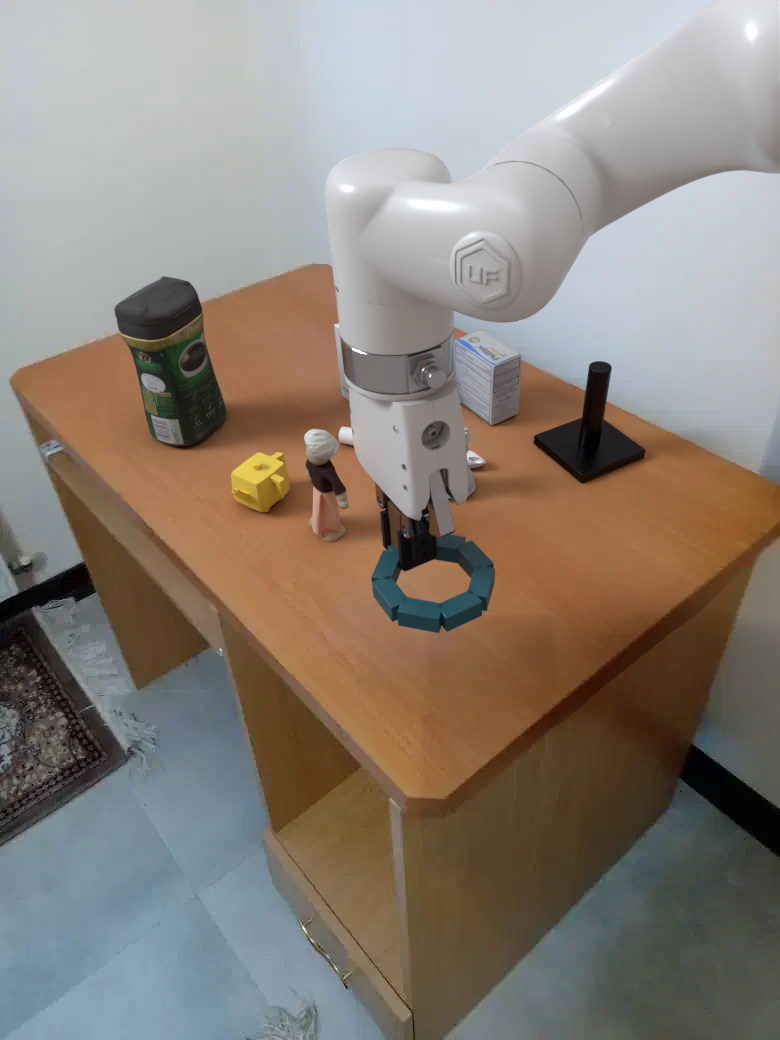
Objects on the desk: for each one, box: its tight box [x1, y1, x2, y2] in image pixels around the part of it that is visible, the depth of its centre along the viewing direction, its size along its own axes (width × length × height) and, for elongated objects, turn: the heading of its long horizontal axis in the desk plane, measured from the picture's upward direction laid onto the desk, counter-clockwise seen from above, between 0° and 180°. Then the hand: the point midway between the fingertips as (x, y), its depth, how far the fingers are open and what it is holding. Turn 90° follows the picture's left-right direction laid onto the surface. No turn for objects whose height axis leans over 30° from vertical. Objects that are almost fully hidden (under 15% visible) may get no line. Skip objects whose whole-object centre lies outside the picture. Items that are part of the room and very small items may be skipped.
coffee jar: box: [113, 275, 227, 447], centre depth 94 cm, size 10×8×19 cm
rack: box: [533, 360, 646, 484], centre depth 89 cm, size 9×9×11 cm
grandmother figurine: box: [303, 428, 350, 543], centre depth 80 cm, size 8×4×13 cm, turn 45°
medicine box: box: [454, 329, 522, 426], centre depth 97 cm, size 8×4×9 cm, turn 32°
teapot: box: [230, 451, 291, 513], centre depth 86 cm, size 8×6×5 cm
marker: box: [337, 426, 487, 469], centre depth 92 cm, size 18×2×2 cm, turn 68°
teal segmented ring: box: [370, 500, 496, 634], centre depth 61 cm, size 9×9×6 cm
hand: (409, 551), depth 65 cm, fingers closed on teal segmented ring
